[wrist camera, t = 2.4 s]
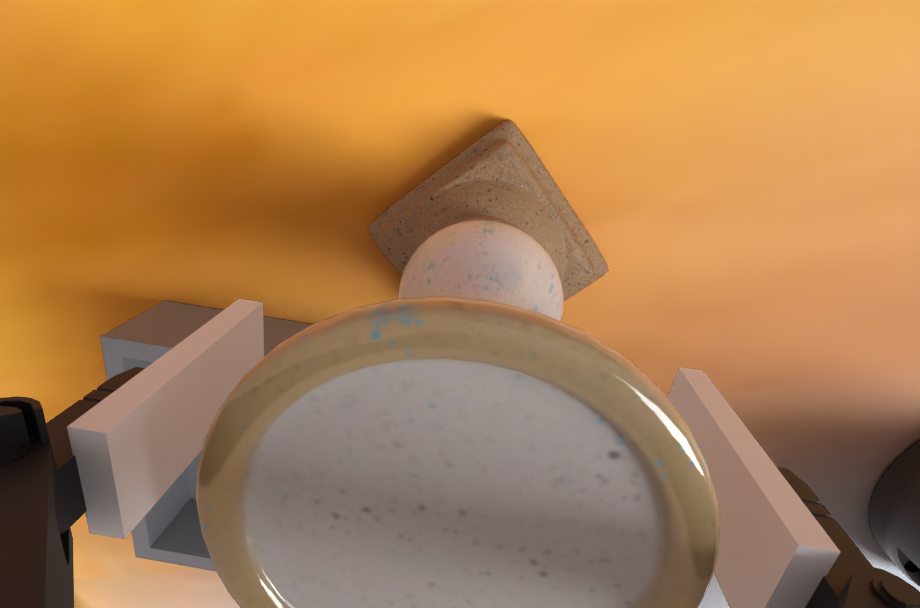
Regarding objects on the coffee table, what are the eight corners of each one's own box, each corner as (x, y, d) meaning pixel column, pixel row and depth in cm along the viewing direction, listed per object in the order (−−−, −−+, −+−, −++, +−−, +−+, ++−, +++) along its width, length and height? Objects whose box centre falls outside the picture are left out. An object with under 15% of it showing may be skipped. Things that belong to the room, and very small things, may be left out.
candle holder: (369, 222, 32) (56, 483, 10) (510, 114, 29) (527, 133, 6) (469, 348, 34) (403, 777, 12) (607, 262, 31) (852, 631, 9)
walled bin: (417, 341, 35) (400, 385, 29) (395, 534, 41) (378, 600, 36) (164, 300, 35) (100, 336, 30) (184, 497, 42) (135, 556, 36)
